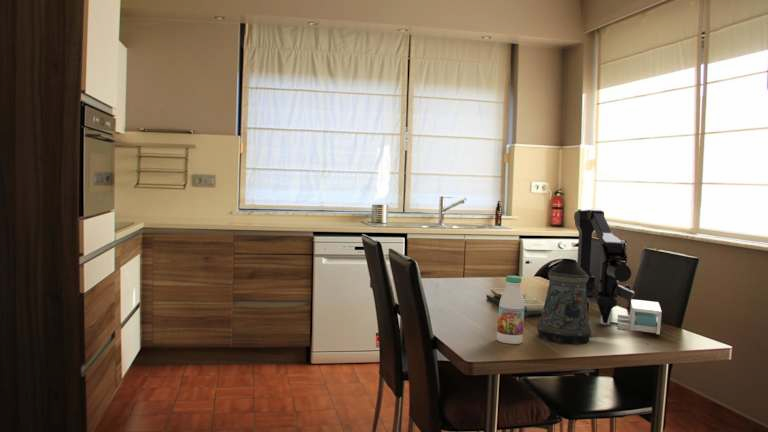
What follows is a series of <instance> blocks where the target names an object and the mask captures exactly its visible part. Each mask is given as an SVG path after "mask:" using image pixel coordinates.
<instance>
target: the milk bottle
mask: <svg viewBox="0 0 768 432" xmlns="http://www.w3.org/2000/svg"><path fill="white" fill-rule="evenodd" d="M505 284H506V285H505V289H504V291H503V293H502V294H501V297H500V298H499V305H498V315H497V326H496V328H497V329H496V340H497V341H498V342H500V343H503V344H510V345H518V344H519V345H520V344H521V343H523V339H524V338H523V337H524V326H525V325H524V323H525V308H526V307H525V299H524V297H523V293H522V290H521V285H522V277H521V276H518V275H507V276H506V277H505Z"/></svg>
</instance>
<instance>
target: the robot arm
mask: <svg viewBox="0 0 768 432" xmlns="http://www.w3.org/2000/svg"><path fill="white" fill-rule="evenodd" d="M573 215H574V216H573V220H574V226H575V229H577V231H578V243H577V244H578V245H577V246H578V247H577V260H576V262H577V264H578V265H579V266H580V267H581V268H582V269H583V270H584V271H585V272H586V273H587V275H588V276H589V279H588V282H587V283H586V296H587V312H590V301H589V299H593V298H594V294H595V290H596V285H595V279H596V278H595V275H593V274H592V273H591V260H592V242H593V233H594V232H595V235H596V237H597V239H598V241H599V243H598V245H597V249H598V253H599V256H600V259H599V262H600V275H599V287H598V292H597V293H598V294H597V297H596V298H597V299H596V305H597V307H598V309H599V312H600V317H601V316H602V319H603V322H604V323H607V321H608V318H609V315H610V311H611V312H612V309H613V308H615V307H617V306H618V297H621V298H622V299H625V300H626V301H628V302H631V300H632V299H633V297H634V295H635V291H634V290H632V288H631V285H629V284H625V285H624V286H623V285H620V284H619V282H620V283H626V282H627V281H628V280H629V279H630V278H631V276H632V271H631V268H630V267H629V266H628V265H627V263H628V255H627V252H626V249H625V246H624V244H623V243H622V241H621V240H620V238H619V237H618V236H616V235H614V234H613V232H612V230H611V228H610V226H609V224H608V222H607V220H606V218H605V211H604V210H602V209H596V208H595V209H594V208H592V209H584V208H583V209H582V208H581V209H580V208H579V209H577V211H575V212H574V214H573Z"/></svg>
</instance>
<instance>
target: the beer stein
mask: <svg viewBox="0 0 768 432" xmlns="http://www.w3.org/2000/svg"><path fill="white" fill-rule="evenodd" d="M547 275H548V279H549V284H548V287H547V291H546V297H545V300H544V305H543V309H542V312H541V315H540V318H539V321H538V322H537V326H536V327H537V335H538V337H539V339H542V340H544V341H547V342H550V343H555V344H561V345H568V346H569V345H573V346H578V345H579V346H581V345H586V344H588V343H590V339H591V335H592V329H591V325H590V322H589V315H588V314H589V313H588V312H589V311H587V296H586V283H587V282H588V279H589V276H588V275H587V273H586V272H585V271H584V270H583V269H582V268H581V267H580V266H579V265H578V264H577V260H576V259H574V258H573V259H571V258H562V259H561V261H560V262H559V263H558V264H556V265H555V266H553V268H551V269H550V270H549V271H548V273H547Z"/></svg>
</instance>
